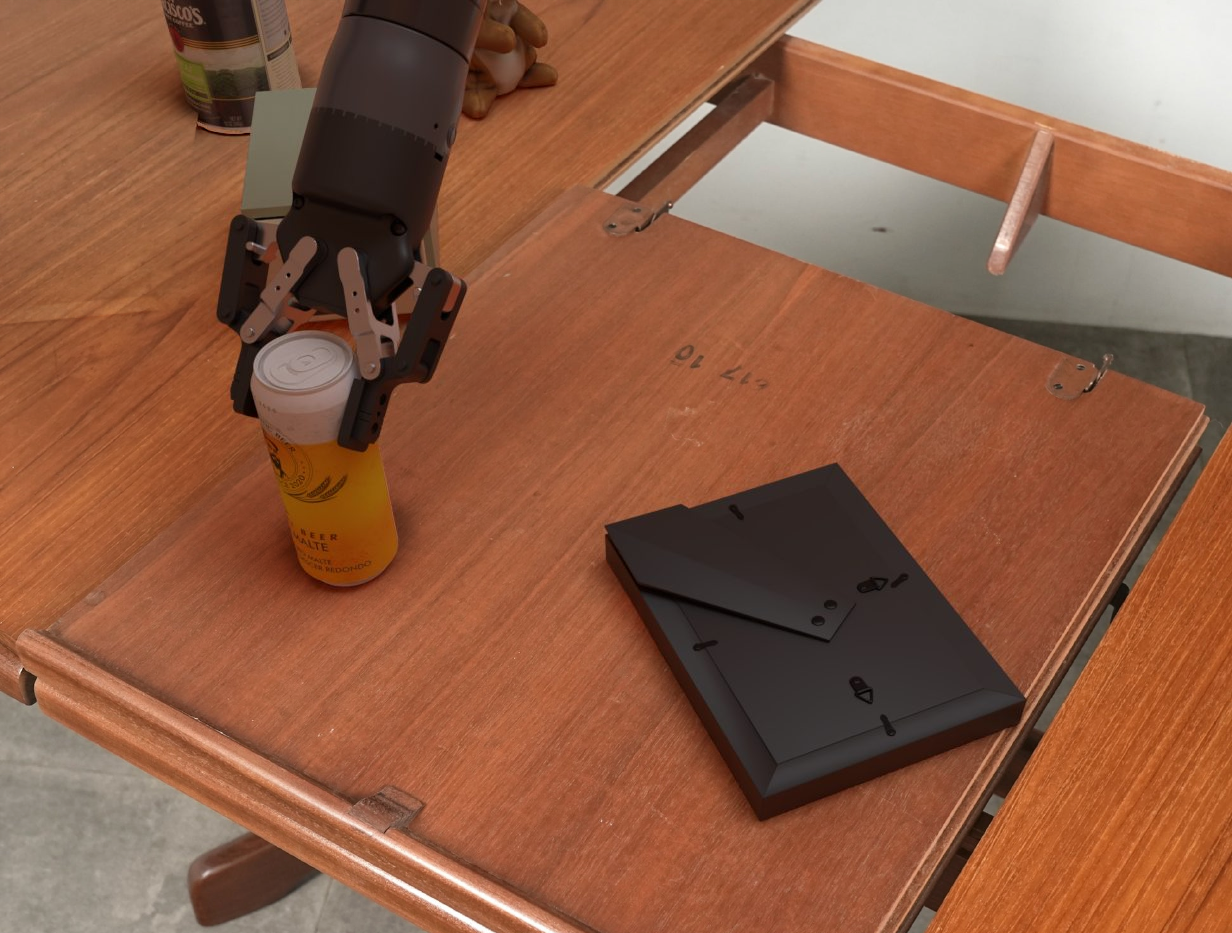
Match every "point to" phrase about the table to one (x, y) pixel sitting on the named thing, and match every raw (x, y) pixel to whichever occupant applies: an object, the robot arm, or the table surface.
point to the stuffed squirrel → (505, 55)
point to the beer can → (323, 459)
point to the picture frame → (807, 637)
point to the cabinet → (289, 160)
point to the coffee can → (231, 55)
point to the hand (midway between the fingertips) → (299, 431)
